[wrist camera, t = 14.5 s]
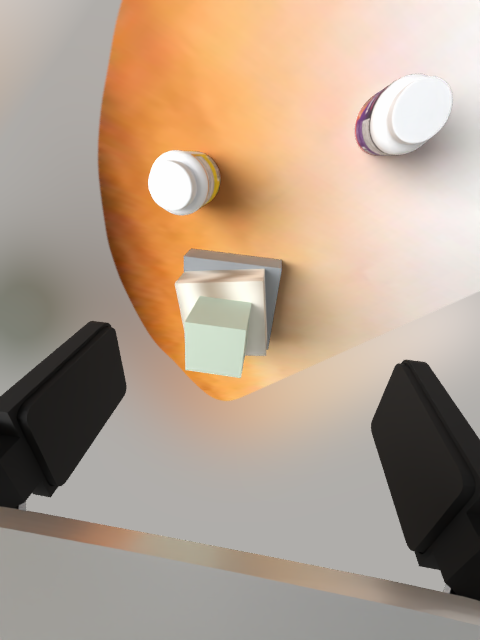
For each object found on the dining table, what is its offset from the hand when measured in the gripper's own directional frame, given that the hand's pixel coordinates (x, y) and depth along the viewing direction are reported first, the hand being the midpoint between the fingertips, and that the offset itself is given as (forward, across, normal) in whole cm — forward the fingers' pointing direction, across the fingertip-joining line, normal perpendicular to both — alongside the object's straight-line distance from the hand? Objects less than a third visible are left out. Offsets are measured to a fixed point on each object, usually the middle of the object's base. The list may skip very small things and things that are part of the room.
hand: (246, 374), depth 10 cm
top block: (+25, +5, +11) cm, 28 cm away
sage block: (+21, +4, +11) cm, 24 cm away
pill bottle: (+29, -10, -10) cm, 32 cm away
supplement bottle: (+29, +9, -4) cm, 31 cm away
